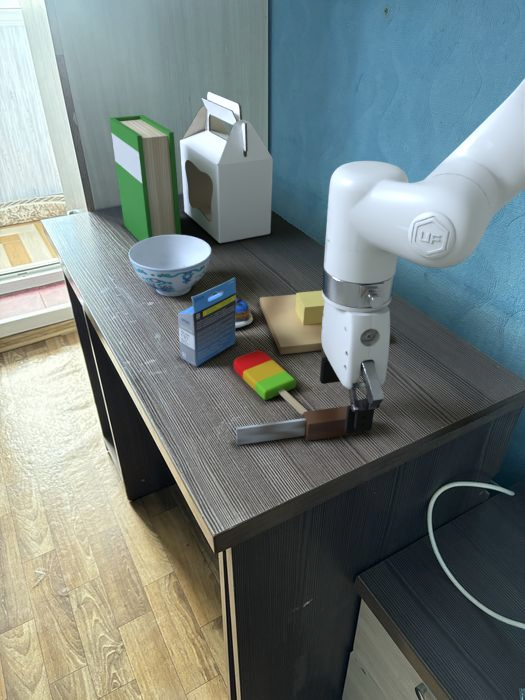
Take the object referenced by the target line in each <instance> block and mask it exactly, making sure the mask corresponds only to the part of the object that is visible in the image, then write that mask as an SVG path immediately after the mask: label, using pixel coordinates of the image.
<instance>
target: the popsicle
mask: <svg viewBox="0 0 525 700" xmlns="http://www.w3.org/2000/svg"><path fill="white" fill-rule="evenodd" d="M233 370H234V371H235V373H236V374H237V375H238V376H239V377H240V378H241V379H242V380H243V381H244V382H245V383H246V384H247V385H248V386H249V387H250V388H251V389H253V391H254V392H256V394H257V395H258V396H259V397H261V399H263V400H264V401H267V400H270V399H272V398H275V397H277V396H281V397H282V398H283V399H284V400H285V401H286V402H287V403H289V405H290V406H291V407H293V409H295V410H296V411H297V412H298V413H299V414H300V415H301V416H303V413H304V412H306V411H308V410H307V408H305V407H304V406H303V405H302V404H301V403H300V402H299V401H297V400H296V398H294V397H293V396H292V395H291V394H290V393H289V392H288V391H291V390H294V389H296V387H297V379H295V377H293V376H292V375H291V374H289V372H287V371H286V370H285V369H284V368H283V367H282V366H280V365H279V363H277V362H276V361H275V360H274V359H273V358H271V357H270V356H269V355H268V354H267V353H266V352H264V351H262V350H253V351H251V352H248V353H246V354H243V355H241V356H238V357H236V358H235V359H234V361H233Z"/></svg>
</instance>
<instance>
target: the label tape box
mask: <svg viewBox="0 0 525 700" xmlns="http://www.w3.org/2000/svg"><path fill="white" fill-rule="evenodd" d="M236 299H237V288H236V277H232V278H230V279H229V280H227V281H225V282H222V283H221V284H220V283H219V284H218V285H216V286H214V287H212V288H209V289H207V290H205V291H203V292H201V293H199V294H196V295H193V296H191V302H192V306H190V307H188V308H186V309H184V310H182V311H180V312H178V313H177V325H178V337H179V354H180V358H181V359H182V360H184V361H185V362H188V364H191V365H192V366H194V367H199V366H201V365H202V364H203V363H206V362H207V361H208V360H210V359H212V358H213V357H215V356H217V355H218V354H220V353H222V352H223V351H225V350H226V349H228V348H230V347H231V346H233V345H235V344H236V328H235V324H236Z"/></svg>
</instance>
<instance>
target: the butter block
mask: <svg viewBox="0 0 525 700" xmlns="http://www.w3.org/2000/svg"><path fill="white" fill-rule="evenodd" d="M295 294H296V308H295V310H296V312H297V314H298V316H299V318H300V320H301V322H302V324H303V325H310V324H320V323H322V320H323V311H324V304H325V300H324V299H323V297H322V290H313V291H302V292H301V291H300V292H296V293H295Z"/></svg>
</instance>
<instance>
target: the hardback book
mask: <svg viewBox="0 0 525 700" xmlns="http://www.w3.org/2000/svg"><path fill="white" fill-rule="evenodd" d="M108 119H109V126H110V133H111V141H112V147H113V148H112V149H113V155H114V162H115V168H116V175H117V183H118V191H119V199H120V205H121V213H122V219H123V226H124V227H125V228H126V229H127V230H128V231H129V233H131V234H132V236H134V237H135V239H136V240H137V241H138V242H140V241H142V240H144V239H147V238H151V237H155V236H161V235H182V229H181V228H182V226H181V213H180V199H179V185H178V173H177V160H176V159H177V158H176V147H175V133H174V131H172V130H170V129H169V128H167V127H166V126H164V125H162V124H160V123H158V122H156V121H154V120H152V119H151V118H149V117H147V116H146V115H144V114H137V115H126V116H113V117H109V118H108Z"/></svg>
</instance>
